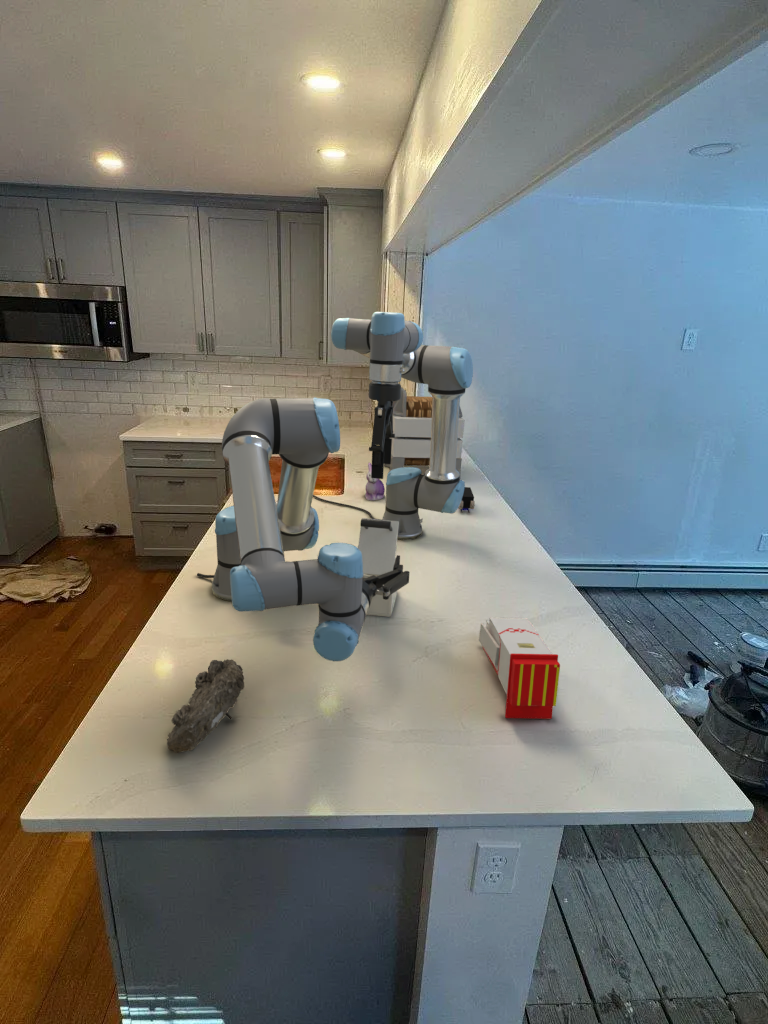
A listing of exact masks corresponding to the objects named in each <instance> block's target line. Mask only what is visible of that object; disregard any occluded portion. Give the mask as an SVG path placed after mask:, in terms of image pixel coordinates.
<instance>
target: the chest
mask: <svg viewBox="0 0 768 1024" xmlns="http://www.w3.org/2000/svg"><path fill="white" fill-rule="evenodd" d="M396 557H397V556H395V560H396ZM370 576H373V575H372V574H363V577H365V578H367V577H370ZM375 576H379V575H375ZM397 596H398V590H397V591H396V592H394V593H393V594H391V595H390V597H389V599H387V600H385V599H383V596H382V595H375V596H374V597H373V598H372V601H371V604H370V607H369V609H368V612H367V615H369V616H377V617H378V616H379V617H386V618H387V617H388V618H391V617H392V614H393V610H394V606H395V602H396V599H397Z"/></svg>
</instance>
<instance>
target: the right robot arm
mask: <svg viewBox="0 0 768 1024" xmlns="http://www.w3.org/2000/svg"><path fill="white" fill-rule="evenodd" d="M330 332H331V333H330V337H331V342H332V344H333V346H334V347H335V348H336V349H339V350H343V351H348V350H349V351H354V352H355V353H358V354H360V355H362V356H364V357H366V358H368V359H369V366H368V380H369V381H370V383H368V398H369V399H370V400H371V401H377V405H376V406H374V409H373V410H374V414H373V415H374V416H373V426H372V434H371V435H372V436H371V445H370V446H369V447H368V452H371V464H372V471H371V478H377V479H380V480H383V479H384V469H385V468H384V467H385V466H384V464H391V448H392V439H390V438H395V434H393V401H398V400H400V398H401V387H402V385H401V383H400V382H402V379H404V380H407V381H409V382H412V383H416V384H422V385H427V392H428V393H429V395H431V397H433V399H432V422H431V445H430V466H428V467H429V468H427V469H426V470H424V474H422V470H421V468H419V467H416V466H404V467H403V468H397V469H393V470H391V471H390V470H389V471H388V473H387V475H386V482H385V504H384V505H385V507H384V508H385V509H384V513H383V515H382V519H381V518H377V519H378V520H389V521H399V527H398V537H397V541H410V540H415V539H418V538H420V537H421V536H422V535H423V525H422V523H423V520H424V519H423V517H422V518H420V515H419V509H420V510H427V511H431V512H438V513H441V514H454V513H456V512H457V510H459V508H458V507H459V505H460V503H461V500H462V497H463V493H464V488H465V487H466V484H465V481H464V480H463V479H461V474H460V473H459V472H458V471H457V470H456V469H455V468H456V453H457V437H458V422H459V406H460V407H461V404H460V403H461V397H462V396H464V395H465V393H466V390H467V389H468V388H471V385H472V383H473V377H474V367H473V366H474V364H473V359H472V355H471V353H470V352H469V350H468V349H466V348H464V347H458V346H457V347H456V346H449V345H428V344H423V341H424V333H423V329H422V328H421V326H420V325H419V324H418V323H416V322H414V321H411V320H406V319H405V315H404V313H402V312H390V311H374V312H373V313H372V314H371V319H367V318H366V319H365V318H352V317H342V318H341V317H340V318H339V317H338V318H337V319H335V321H333V324H332V326H331V331H330ZM459 478H460V480H459ZM313 498H315V499H316V500H319V501H321V502H325V503H329V504H333V505H337V506H341V507H342V506H343V507H348V508H352V509H356V510H359V511H362V512H365V513H366V514H367V515H369V517H370V519H376V518H375V517H373V515H372V513H371V512H370V511H369V510H367V509H365V508H362V507H359V506H355V505H350V504H346V503H341V502H336V501H332V500H329V499H328V500H327V499H324V498H321V497H319V496H317V495H315V494H313Z"/></svg>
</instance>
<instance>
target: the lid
mask: <svg viewBox="0 0 768 1024" xmlns="http://www.w3.org/2000/svg"><path fill="white" fill-rule="evenodd" d="M378 519H379V518H375V519H371V518H366V517H361V519H360V529H359V538H358V546H357V548H358V549H359V550H360V551H361V553H362V562H363V574H372V575H382V574H384V573H387V572H390V571H393V567H394V563H395V557H396V556H397V555H396V554H397V544H398V540H397V537H398V527H399V521H389V520H382V519H381V520H378Z"/></svg>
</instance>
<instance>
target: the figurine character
mask: <svg viewBox="0 0 768 1024" xmlns="http://www.w3.org/2000/svg"><path fill="white" fill-rule="evenodd" d="M475 505H476V503H475V496H474V493H473V489H472V488H471V487H470V486H465V488H464V493H463V497H462V500H461V503H460V505H459V507H458V510H459V511H460V513H461V514H463V513H464V512H463V511H467V514H470V513H471V510H474V509H475Z"/></svg>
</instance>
